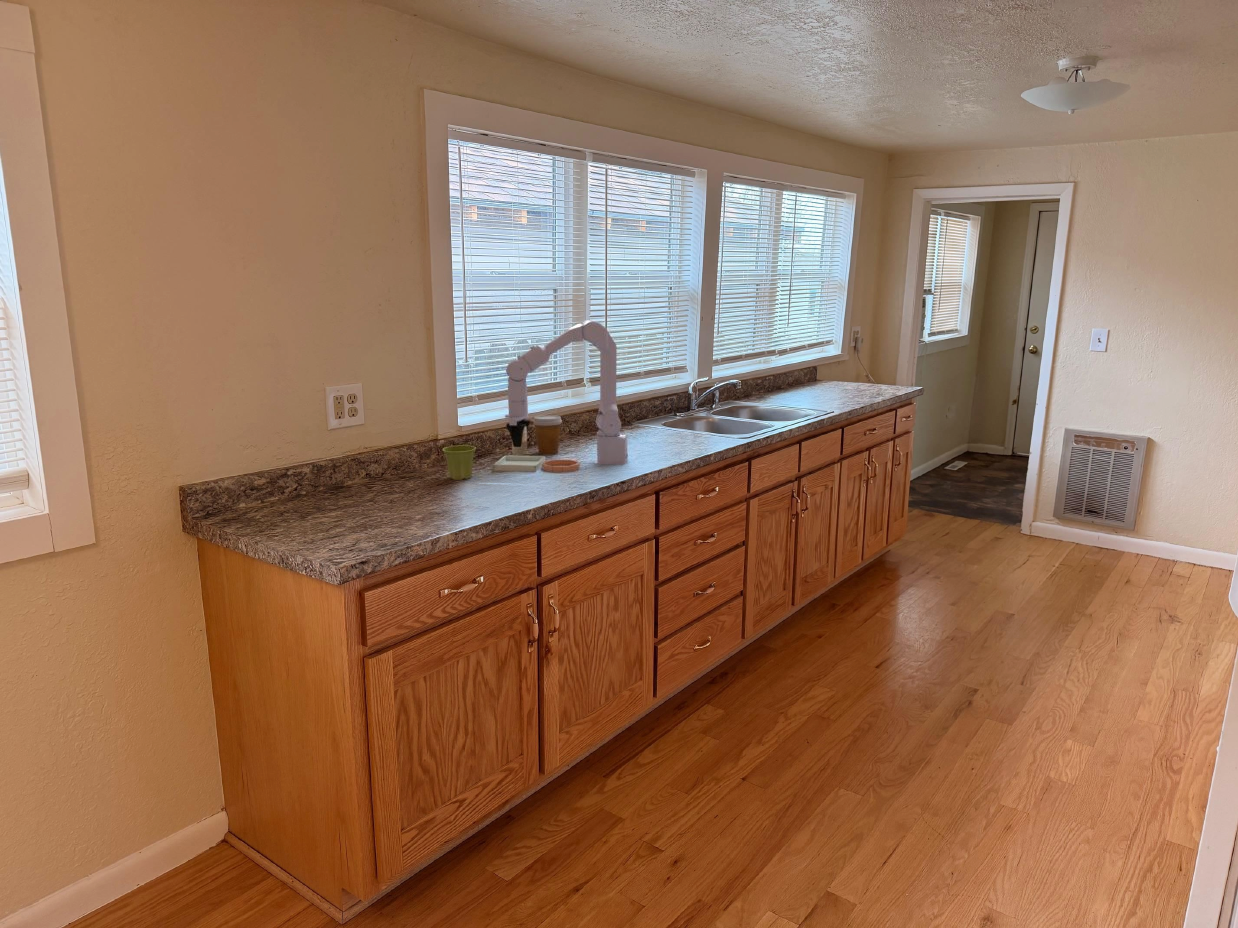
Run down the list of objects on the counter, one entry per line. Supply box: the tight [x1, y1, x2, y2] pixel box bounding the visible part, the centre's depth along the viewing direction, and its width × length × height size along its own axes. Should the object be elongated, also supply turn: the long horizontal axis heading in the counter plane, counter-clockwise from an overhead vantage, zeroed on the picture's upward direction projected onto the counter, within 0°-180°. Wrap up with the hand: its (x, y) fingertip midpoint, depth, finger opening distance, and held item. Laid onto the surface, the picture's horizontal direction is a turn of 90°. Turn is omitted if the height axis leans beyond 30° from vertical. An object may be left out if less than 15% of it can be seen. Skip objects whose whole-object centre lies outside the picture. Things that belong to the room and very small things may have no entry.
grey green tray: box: [492, 455, 547, 472], centre depth 259 cm, size 13×14×2 cm
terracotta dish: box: [541, 458, 581, 473], centre depth 256 cm, size 11×11×2 cm
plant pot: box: [442, 444, 477, 481], centre depth 246 cm, size 9×9×9 cm
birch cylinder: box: [511, 426, 528, 456], centre depth 258 cm, size 4×4×8 cm
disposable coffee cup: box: [532, 414, 563, 456], centre depth 280 cm, size 10×10×12 cm
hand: (519, 445), depth 258 cm, fingers closed on birch cylinder, 4 cm apart
